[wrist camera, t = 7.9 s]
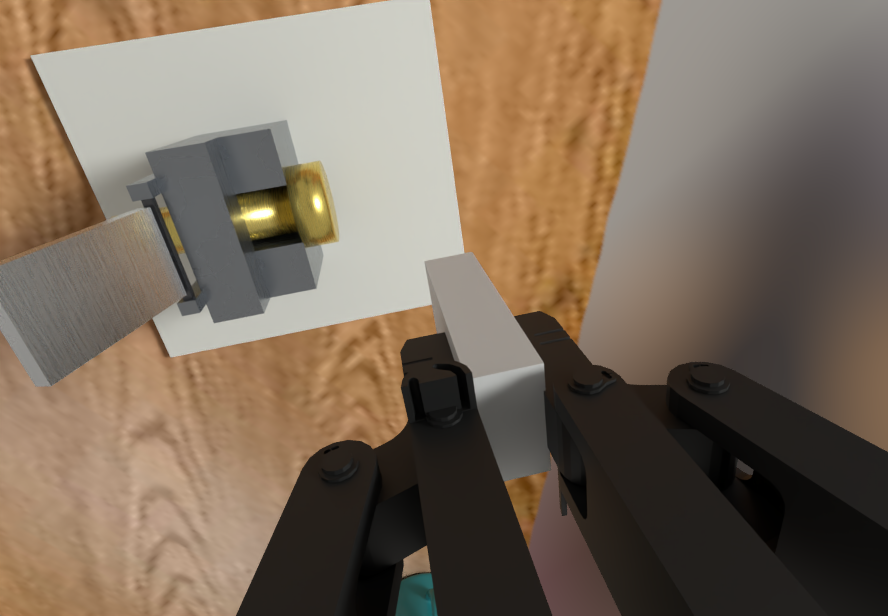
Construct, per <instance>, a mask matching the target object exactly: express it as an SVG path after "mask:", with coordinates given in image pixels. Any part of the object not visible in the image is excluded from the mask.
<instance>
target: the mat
mask: <svg viewBox="0 0 888 616" xmlns="http://www.w3.org/2000/svg"><path fill="white" fill-rule="evenodd" d="M31 58H32V60H33V62H34V65H35V67H36V69H37V71H38V73H39V75H40V77H41V80H42V82H43V84H44V86H45V88H46V90H47V93H48V95H49V97H50V99H51V101H52V103H53V105H54V108H55V110H56V112H57V114H58V116H59V118H60V120H61V123H62V125H63V127H64V129H65V131H66V133H67V136H68V138H69V140H70V142H71V144H72V146H73V148H74V151H75V153H76V155H77V157H78V159H79V161H80V164H81V166H82V168H83V170H84V172H85V174H86V176H87V179H88V181H89V183H90V185H91V187H92V189H93V191H94V194H95V196H96V198H97V200H98V202H99V204H100V207H101V209H102V211H103V213H104V215H105V217H106V219H107V220H108V219H110V218H111V217H113V216H117V215H121V214H124V213H126V212H129V211H132V210H134V209H137V208H144V207H143V204H142V202H141V200H139V201H134V202H133V201H132V199H131V197H130V195H129V192H128V190H127V188H126V186H127V185H129V184H131V183H134V182H136V181H138V180H140V179H143V178H145V177H147V176H149V175H152V174H153V171H152V169H151V166H150V164H149V161H148V159H147V156H146V154H145V152H148V151H151V150H154V149H157V148H161V147H164V146H167V145H170V144H173V143H176V142H179V141H182V140H185V139H188V138H191V137H194V136H197V135H201V134H207V133H213V132H219V131H225V130H231V129H237V128H243V127H249V126H255V125H261V124H266V123H272V122H278V121H284V120H287V123H288V127H289V130H290V134H291V138H292V141H293V145H294V149H295V152H296V156H297V160H298V163H299V164H303V163H308V162H314V161H321V163H322V165H323V167H324V170H325V172H326V175H327V179H328V182H329V186H330V189H331V193H332V197H333V202H334V206H335V211H336V216H337V222H338V228H339V242H335V243H330V244H325V245H321V248H322V251H323V255H324V256H323V261H322V265H321V270H320V275H319V280H318V285H317V289H312V290H307V291H302V292H297V293H292V294H287V295H282V296H277V297H272V298H270V300H269V303H268V305H267V308H266V310H265V313H264V314H259V315H254V316H249V317H244V318H239V319H234V320H229V321H224V322H219V323H214V322H213V320H212V317H211V315H210V312H209V310H208V307H207V305H205V307H204V308H203V309H202V311H201V312H200V313H197V314H191V315H186V316H182V315H181V312H180V310H179V308H178V305H177V303H178V302H179V301H177V302H176V303H174V304H173V305H171V306H170V307H168V308H167V309H165V310H164V311H162V312H161V313H159V314H158V315H156V316H155V317H153V321H154V323H155V325H156V327H157V329H158V331H159V333H160V336H161V338H162V340H163V342H164V344H165V346H166V349H167V351H168V353H169V355H170V357H175V356H180V355H185V354H190V353H195V352H200V351H205V350H210V349H215V348H220V347H225V346H230V345H235V344H240V343H245V342H249V341H254V340H259V339H264V338H269V337H274V336H279V335H284V334H289V333H294V332H299V331H304V330H309V329H314V328H318V327H323V326H328V325H333V324H338V323H343V322H348V321H353V320H358V319H363V318H368V317H373V316H378V315H383V314H388V313H392V312H397V311H402V310H407V309H412V308H417V307H422V306H427V305H432V302H431V296H430V290H429V285H428V279H427V273H426V268H425V262H424V261H427V260H433V259H438V258H443V257H448V256H453V255H458V254H463V253H464V247H463V240H462V232H461V225H460V218H459V211H458V203H457V196H456V189H455V181H454V174H453V167H452V160H451V152H450V145H449V138H448V130H447V123H446V116H445V108H444V101H443V94H442V87H441V79H440V72H439V65H438V57H437V50H436V43H435V36H434V28H433V21H432V14H431V6H430V0H390V1H383V2H377V3H370V4H364V5H357V6H351V7H344V8H338V9H331V10H325V11H318V12H312V13H305V14H299V15H292V16H286V17H279V18H273V19H266V20H259V21H253V22H246V23H240V24H233V25H227V26H220V27H214V28H207V29H201V30H194V31H188V32H181V33H175V34H168V35H162V36H155V37H149V38H142V39H135V40H129V41H122V42H116V43H109V44H103V45H96V46H90V47H83V48H77V49H70V50H64V51H57V52H51V53H44V54H38V55H31ZM155 199H156V201H157V204H158V206H159V208H161V207H167V206H166V203H165V201H164V198H163V196H162V194H159V195H157V196H156V197H155ZM178 255H179V257H180V260H181V262H182V265H183V267H184V269H185V272H186V274H187V277H188V279H189V282H190V284H191V286H192V285H193V284H194V282H195V281H196V278H195V275H194V273H193V270H192V268H191V265H190V263H189V260H188V258H187V255H186V253H183V254H178Z"/></svg>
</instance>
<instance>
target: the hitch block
mask: <svg viewBox="0 0 888 616" xmlns="http://www.w3.org/2000/svg"><path fill="white" fill-rule="evenodd" d="M145 154H146V156H147V159H148V161H149V164H150V166H151V169H152V171H153V174H152V175H149V176H147V177H145V178H143V179H140V180H138V181H136V182H134V183H131V184H129V185H127V186H126V188H127V190H128V192H129V195H130V197H131V199H132V201H133V202H134V201H139V200H141V202H142V204H143V207H144V208H145V207H150V208H151V210H152V213H153V215H154V218H155V220H156V222H157V225H158V227H159V230H160V232H161V234H162V237H163V239H164V241H165V244H166V246H167V249H168V251H169V253H170V256H171V258H172V260H173V263H174V265H175V268H176V270H177V272H178V275H179V277H180V280H181V282H182V284H183V287H184V289H185V291H186V294H187V295H186V296H184V297H183V298H181V299H180V300H179V302H178V303H177V305H178V308H179V310H180V312H181V315H182V316H186V315H191V314H197V313H200V312H201V311H202V309H203V308H204V307H205V305H207V307H208V310H209V312H210V315H211V317H212V320H213V322H214V323H219V322H224V321H229V320H234V319H239V318H244V317H249V316H254V315H259V314H264V313H265V310H266V308H267V305H268V303H269V300H270V298H272V297H277V296H282V295H287V294H292V293H297V292H302V291H307V290H312V289H317V285H318V280H319V275H320V270H321V265H322V261H323V256H324V255H323V251H322V248H321V245H319V246H314V247H309V248H307V247H306V246H305V245H304V243H303V241H302V239H301V237H300V235H299V232H295V233H290V234H285V235H279V236H274V237H269V238H263V239H258V240H253V241H251V238H250V235H249V232H248V229H247V226H246V223H245V220H244V217H243V214H242V211H241V208H240V205H239V202H238V199H237V196H236V194H240V193H245V192H251V191H256V190H262V189H267V188H273V187H279V186H284V185H286V168H287V166H292V165H297V164H299V163H298V160H297V156H296V152H295V149H294V145H293V141H292V138H291V134H290V130H289V127H288V123H287V120H284V121H278V122H272V123H266V124H261V125H255V126H249V127H243V128H237V129H231V130H225V131H219V132H213V133H207V134H201V135H197V136H194V137H191V138H188V139H185V140H182V141H179V142H176V143H173V144H170V145H167V146H164V147H161V148H157V149H154V150H151V151H148V152H145ZM159 194H162V196H163V198H164V201H165V203H166V206H167V208H168V211H169V213H170V216H171V218H172V221H173V223H174V226H175V228H176V231H177V233H178V236H179V238H180V241H181V243H182V245H183V248H184V250H185V253H186V255H187V258H188V260H189V263H190V265H191V268H192V270H193V273H194V275H195V278H196V281H195V282H194V284H193V285H192V286H191V284H190V282H189V279H188V277H187V274H186V272H185V269H184V267H183V265H182V262H181V260H180V257H179V255H178V252H177V250H176V248H175V245H174V243H173V240H172V238H171V235H170V233H169V231H168V228H167V226H166V223H165V221H164V218H163V216H162V214H161V211H160V209H159V206H158V204H157V201H156V199H155V197H156V196H157V195H159Z"/></svg>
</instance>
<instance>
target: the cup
mask: <svg viewBox="0 0 888 616" xmlns="http://www.w3.org/2000/svg"><path fill="white" fill-rule="evenodd" d="M395 616H437V610H436V603H435V596H434V589H433V582H432V576H431V573H421V574H416V575H413V576H410V577H407V578H405V579H403V580H402V581H401V584H400V590H399V596H398V603H397V609H396V615H395Z"/></svg>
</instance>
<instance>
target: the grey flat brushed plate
mask: <svg viewBox="0 0 888 616" xmlns="http://www.w3.org/2000/svg"><path fill="white" fill-rule="evenodd" d="M186 295H187V294H186V291H185V289H184V287H183V284H182V282H181V280H180V277H179V275H178V272H177V270H176V268H175V265H174V263H173V260H172V258H171V256H170V253H169V251H168V249H167V246H166V244H165V241H164V239H163V237H162V234H161V232H160V230H159V227H158V225H157V222H156V220H155V218H154V215H153V213H152V210H151V208H150V207H145V208H137V209H134V210H132V211H129V212H126V213H124V214H121V215H118V216H116V217H113V218H111V219H108V220H105V221H103V222H100V223H98V224H95V225H92V226H90V227H87V228H85V229H82V230H79V231H77V232H74V233H71V234H69V235H66V236H64V237H61V238H58V239H56V240H53V241H51V242H48V243H45V244H43V245H40V246H37V247H35V248H32V249H30V250H27V251H24V252H22V253H19V254H17V255H14V256H11V257H9V258H6V259H3V260H1V261H0V330H1V332H2V333H3V335H4V337H5V338H6V340H7V341H8V343H9V345H10V346H11V348H12V349H13V351H14V353H15V354H16V356H17V357H18V359H19V361H20V362H21V364H22V365H23V367H24V369H25V370H26V372H27V373H28V375H29V376H30V378H31V380H32V381H33V383H34V384H35V386H52V385H54V384H55V383H57V382H58V381H60V380H61V379H63V378H64V377H66V376H67V375H69V374H70V373H72V372H73V371H75V370H76V369H77V368H79V367H80V366H82V365H83V364H85V363H86V362H88V361H89V360H91V359H92V358H94V357H95V356H97V355H98V354H100V353H101V352H103V351H104V350H106V349H107V348H109V347H110V346H112V345H113V344H115V343H116V342H118V341H119V340H121V339H122V338H124V337H125V336H127V335H128V334H129V333H131V332H132V331H134V330H135V329H137V328H138V327H140V326H141V325H143V324H144V323H146V322H147V321H149V320H150V319H152V318H153V317H155V316H156V315H158V314H159V313H161V312H162V311H164V310H165V309H167V308H168V307H170V306H171V305H173V304H174V303H176V302H177V301H179V300H180V299H181V298H183V297H184V296H186Z"/></svg>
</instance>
